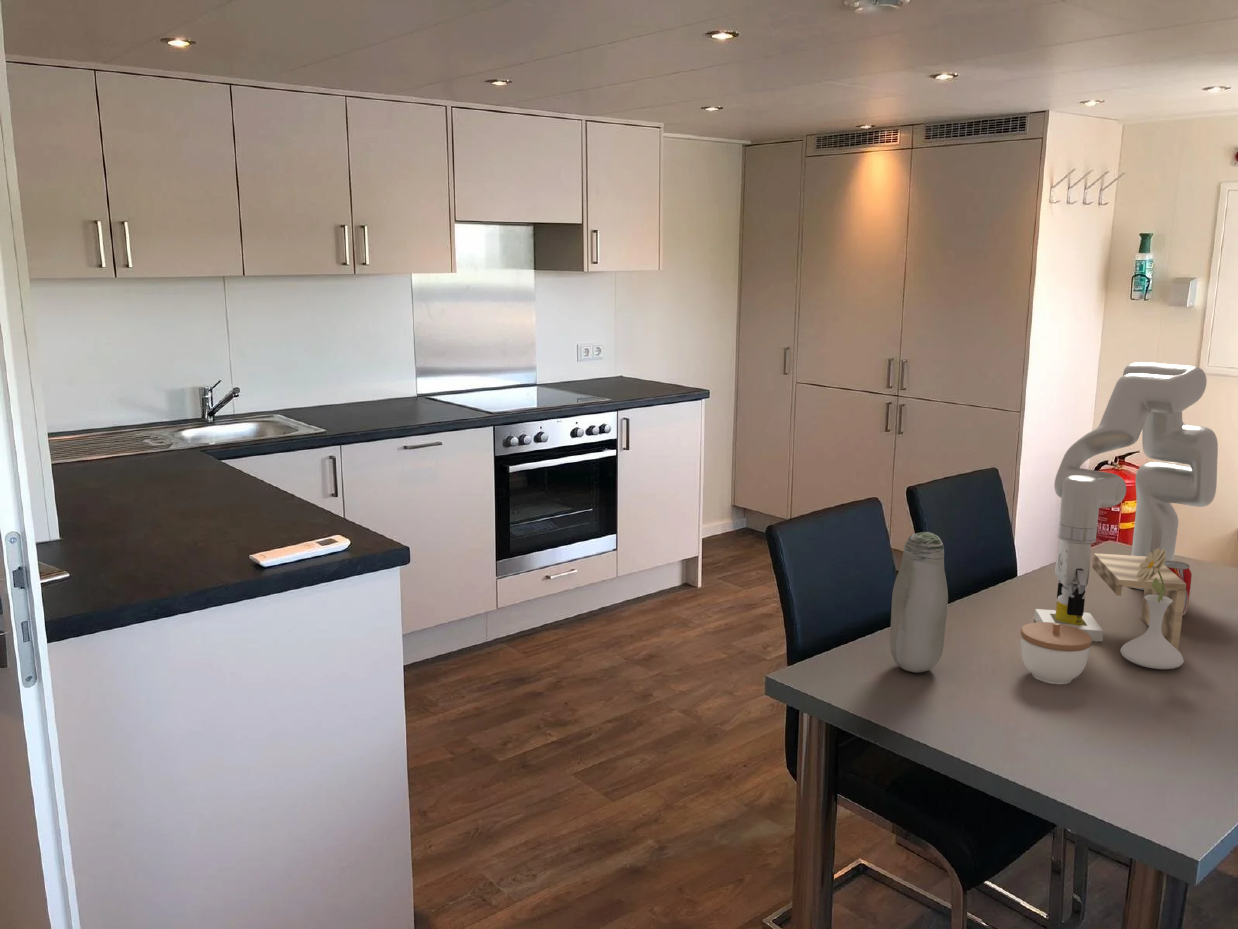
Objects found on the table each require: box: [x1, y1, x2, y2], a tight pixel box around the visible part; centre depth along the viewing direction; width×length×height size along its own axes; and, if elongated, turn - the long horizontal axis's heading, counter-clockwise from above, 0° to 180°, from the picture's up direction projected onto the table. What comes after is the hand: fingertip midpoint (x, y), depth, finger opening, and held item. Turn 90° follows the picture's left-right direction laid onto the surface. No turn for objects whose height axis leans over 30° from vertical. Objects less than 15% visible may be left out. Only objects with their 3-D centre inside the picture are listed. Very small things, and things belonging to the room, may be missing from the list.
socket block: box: [1034, 608, 1104, 643], centre depth 218 cm, size 12×12×2 cm
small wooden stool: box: [1091, 553, 1186, 651], centre depth 216 cm, size 20×13×15 cm, turn 168°
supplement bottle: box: [1055, 585, 1082, 625], centre depth 217 cm, size 5×5×10 cm
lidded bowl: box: [1020, 621, 1093, 685], centre depth 192 cm, size 13×13×11 cm
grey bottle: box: [889, 531, 949, 673], centre depth 193 cm, size 10×10×28 cm
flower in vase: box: [1120, 548, 1185, 670], centre depth 197 cm, size 13×11×25 cm
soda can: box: [1164, 560, 1192, 616], centre depth 228 cm, size 7×7×12 cm
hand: (1069, 607), depth 217 cm, fingers open, 9 cm apart
